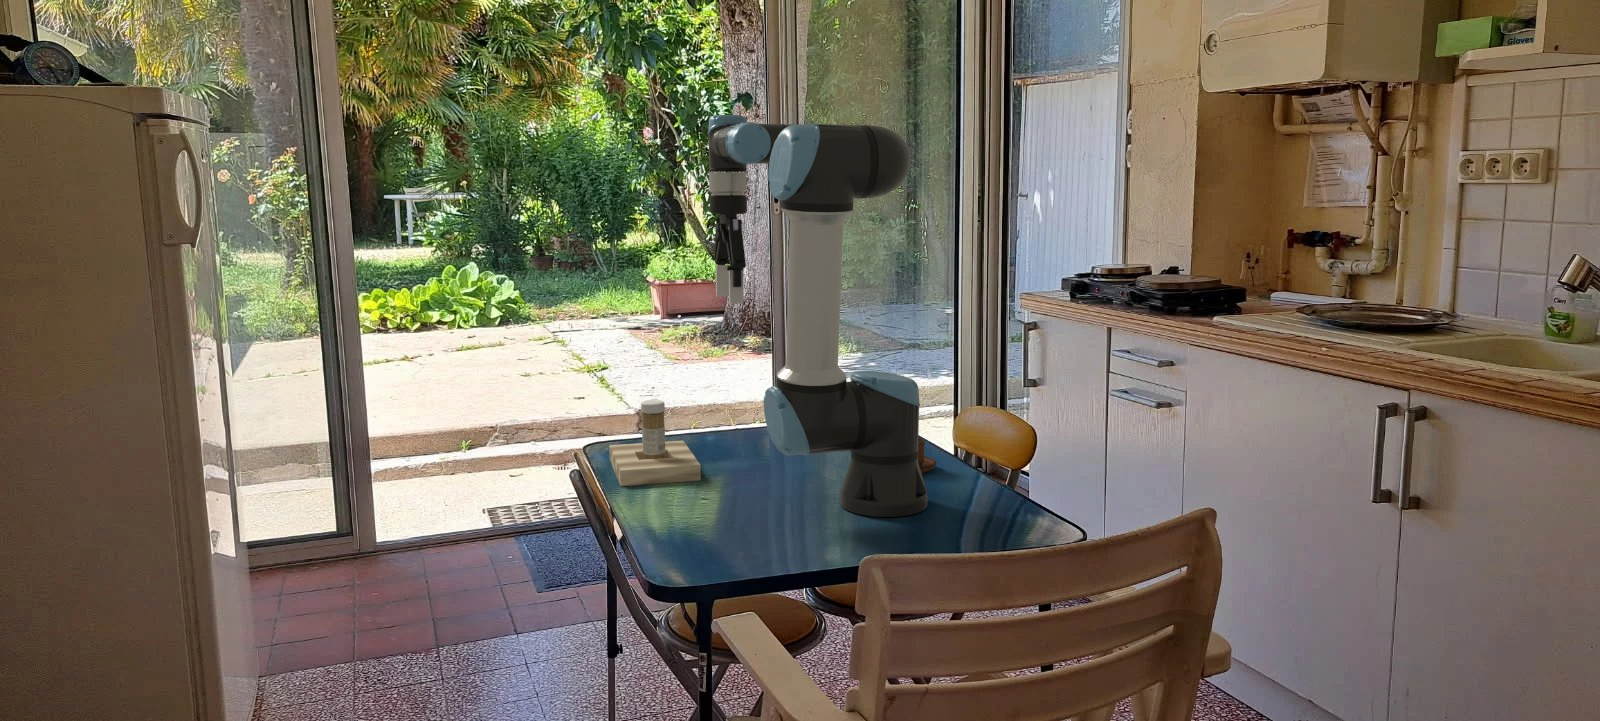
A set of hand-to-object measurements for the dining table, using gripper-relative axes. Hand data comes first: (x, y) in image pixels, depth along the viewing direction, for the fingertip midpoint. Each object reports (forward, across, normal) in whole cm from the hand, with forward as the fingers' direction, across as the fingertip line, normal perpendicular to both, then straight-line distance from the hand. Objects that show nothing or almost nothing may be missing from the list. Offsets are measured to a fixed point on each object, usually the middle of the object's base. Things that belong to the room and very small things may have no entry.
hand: (729, 299), depth 225 cm
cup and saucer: (+32, -23, -30) cm, 50 cm away
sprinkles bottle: (+32, -10, +17) cm, 38 cm away
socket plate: (+32, -10, +18) cm, 38 cm away
